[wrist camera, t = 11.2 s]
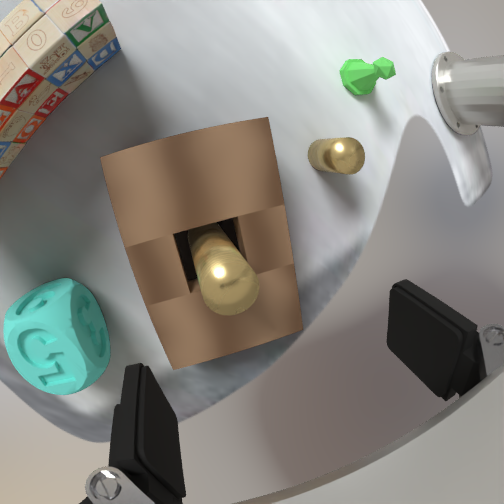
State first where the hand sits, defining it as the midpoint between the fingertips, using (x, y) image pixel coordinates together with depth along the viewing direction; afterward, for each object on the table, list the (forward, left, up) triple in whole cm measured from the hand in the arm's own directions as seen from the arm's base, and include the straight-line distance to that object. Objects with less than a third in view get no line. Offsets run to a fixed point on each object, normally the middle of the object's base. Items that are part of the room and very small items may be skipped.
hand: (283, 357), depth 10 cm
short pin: (-12, -5, -19) cm, 23 cm away
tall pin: (+1, 0, -19) cm, 19 cm away
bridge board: (+1, 0, -19) cm, 19 cm away
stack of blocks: (+15, -17, -19) cm, 30 cm away
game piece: (-18, -13, -19) cm, 29 cm away
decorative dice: (+17, +4, -19) cm, 26 cm away
